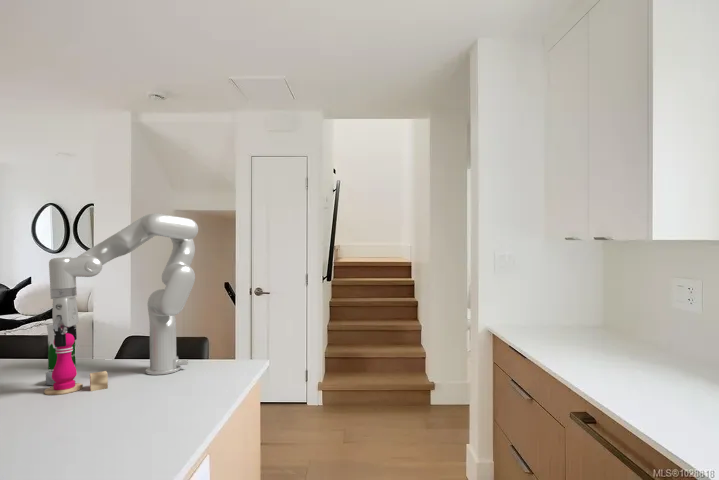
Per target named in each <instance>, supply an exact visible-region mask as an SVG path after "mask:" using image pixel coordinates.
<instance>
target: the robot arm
mask: <svg viewBox="0 0 719 480" xmlns="http://www.w3.org/2000/svg"><path fill="white" fill-rule="evenodd" d="M198 233H199V225H198V224H197V222H196V221H195V220H194V219H192V218H189V217H182V216H177V215H172V214H171V215H170V214H164V213H159V212H154V213H149V214H145V215H143V216H141V217H140V218H138V219H137V220H135V221H133V222H132V223H130V224H129V225H127V226H126V227H124V228H122V229H121V230H119V231H118V232H116V233H114V234H113V235H111V236H109V237H108V238H106V239H105V240H103V241H101V242H99V243H98V244H96V245H94V246H92V247H91V248H89V249H88V250H86V251H84V252H83V253H81V254H80V255H77V257H72V256H71V257H70V256H69V257H68V256H67V257H53V258H51V259H50V260H49V261H48V270H49V271H48V272H49V287H50V288H49V290H50V291H49V292H50V300H52V323H53V328H54V329H53V331H54V341H55V347H63V346H66V334H64V333H65V329H66V328H67V333H69V334H72V335H73V336H74V339H75V341H76V340H77V324H78V323H79V311H78V302H77V297H78V295H77V293H78V291H77V278H78V277H82V278H83V277H84V278H91V277H96V276H97V275H99V274H100V273H101V271H102V269H103V265H105V264H107V263H108V262H110V261H112V260H114V259H116V258H119V257H122V256H126V255H128V254H130V253H131V252H133V251H134V250H136V249H138V248H139V247H140V246H142V245H144V244H145V243H147V242H149V240H151V239H153V238H154V237H157V236H158V237H165V238H170V239H171V243H172V250H171V253H170V256H169V258H168V260H167V263H166V265H165V266H164V269H163V271H162V274H161V281H162V283H163V284H164V285H165V288H164V289H163V288H162V289H157V290H155V291H153V292H152V293H151V294H150V295H149V297H148V300H147V313H148V319H149V367H147V368H146V369H145V373H146V374H147V375H151V376H154V375H156V376H157V375H158V376H159V375H168V374H172V373H176V372H179V371H180V370H181V368H182V366H188V365H189V359H180V358H179V355H177V319H176V315H178V314H180V313H181V312H182V311H183V309H185V308H184V307H185V306H186V304H187V302H188V299H189V296H190V294H191V292H192V290H193V287H194V284H195V280H196V274H195V271H194V269H193V268H192V267H191V265H192V262H193V259H194V258H195V253H196V246H195V241H194V239H195V238H196V237H197V235H198ZM75 328H76V329H75ZM61 329H62V330H61Z"/></svg>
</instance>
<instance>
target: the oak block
mask: <svg viewBox="0 0 719 480" xmlns="http://www.w3.org/2000/svg"><path fill="white" fill-rule="evenodd" d="M108 377H109V375H108V372H107V370H104V371H95V372H90V373H89V388H90V389H89V390H90V392H95V391H100V390H107V389H108V388H109V386H108V385H109V384H108V383H109V381H108V380H109V379H108Z"/></svg>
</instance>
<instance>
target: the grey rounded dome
mask: <svg viewBox="0 0 719 480" xmlns="http://www.w3.org/2000/svg"><path fill="white" fill-rule="evenodd" d="M52 372H53V370H50V371H46V372H45V386H53V384H54V383H55V381H54V380H53V379H52Z"/></svg>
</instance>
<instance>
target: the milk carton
mask: <svg viewBox="0 0 719 480" xmlns="http://www.w3.org/2000/svg"><path fill="white" fill-rule="evenodd" d="M53 329H54V328H53V322H52V323H49V324H47V325H46V330H47V355H48V356H47V357H48V358H47V366H48V367H47V369H48V370H53V369H54V367H55V365H56V362H57V353H56V350H55V349H56V348H57V347H55V345H54V331H53ZM66 329H67V328H66ZM75 329H76V330H77V327H76V328H75ZM61 330H62V329H61ZM72 347H73V348H72V349H73V351H72V353H71V357H72V361H73V363H74V365H76V340H75V341H74V344H73V345H72Z"/></svg>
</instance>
